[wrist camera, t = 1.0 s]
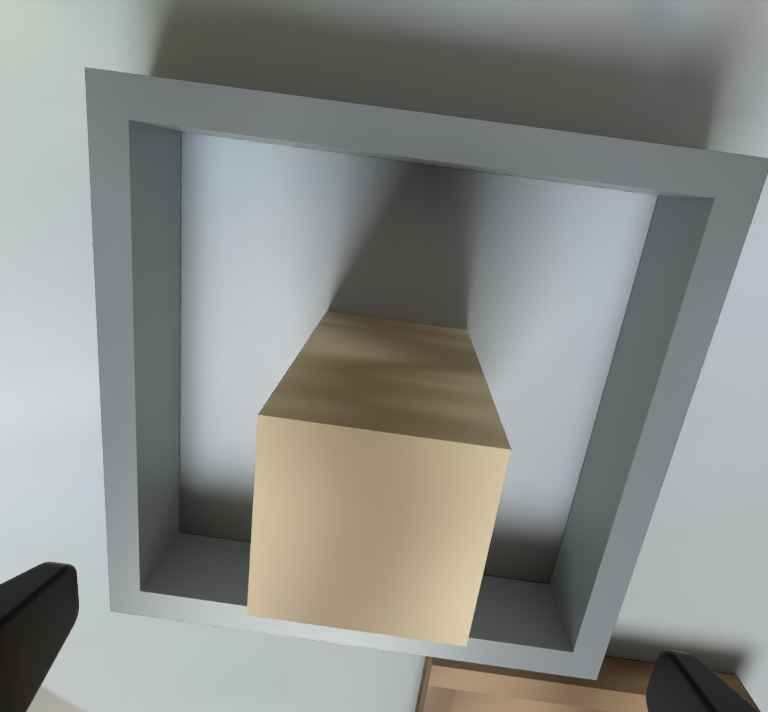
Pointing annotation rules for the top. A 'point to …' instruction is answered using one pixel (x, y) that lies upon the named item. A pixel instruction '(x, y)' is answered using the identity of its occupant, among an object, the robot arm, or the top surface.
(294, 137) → the slate bin
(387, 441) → the maple block
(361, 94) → the top surface
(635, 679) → the walnut tray
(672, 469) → the top surface
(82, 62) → the top surface
